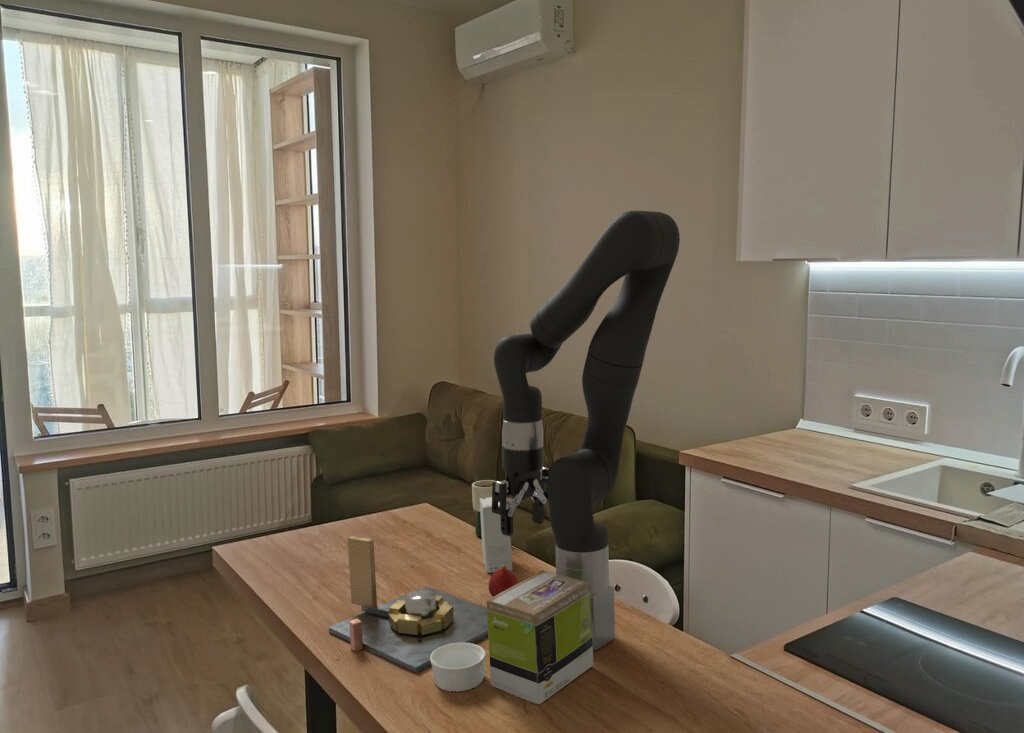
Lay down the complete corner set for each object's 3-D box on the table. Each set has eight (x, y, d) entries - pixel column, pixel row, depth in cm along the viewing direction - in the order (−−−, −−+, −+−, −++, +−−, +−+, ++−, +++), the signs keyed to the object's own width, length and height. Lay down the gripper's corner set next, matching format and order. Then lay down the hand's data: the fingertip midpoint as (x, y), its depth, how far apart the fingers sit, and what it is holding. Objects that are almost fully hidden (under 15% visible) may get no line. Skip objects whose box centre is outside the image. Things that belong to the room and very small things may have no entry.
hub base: (513, 622, 149) (512, 591, 148) (408, 677, 130) (406, 642, 130) (426, 590, 165) (425, 562, 164) (321, 635, 146) (319, 604, 146)
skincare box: (512, 571, 174) (510, 505, 172) (485, 574, 173) (482, 507, 172) (507, 558, 182) (505, 494, 181) (481, 560, 182) (478, 496, 180)
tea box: (545, 650, 138) (543, 567, 136) (594, 667, 132) (593, 580, 130) (488, 687, 127) (484, 597, 125) (539, 707, 120) (536, 613, 118)
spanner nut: (466, 618, 149) (463, 545, 147) (418, 641, 140) (414, 563, 138) (393, 590, 163) (389, 523, 161) (345, 610, 154) (341, 539, 152)
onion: (483, 607, 156) (482, 567, 155) (498, 596, 161) (496, 557, 160) (510, 612, 154) (508, 572, 153) (524, 600, 159) (522, 561, 158)
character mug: (513, 536, 197) (511, 484, 195) (490, 543, 192) (488, 490, 191) (485, 526, 205) (483, 476, 204) (463, 533, 201) (461, 482, 199)
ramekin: (436, 698, 124) (435, 672, 123) (427, 671, 132) (425, 646, 132) (492, 689, 126) (491, 663, 126) (479, 663, 135) (478, 638, 134)
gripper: (511, 454, 139) (512, 544, 141) (563, 439, 149) (563, 523, 152) (480, 447, 144) (481, 534, 146) (532, 433, 154) (532, 515, 157)
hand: (523, 528), depth 149 cm, fingers open, 8 cm apart
